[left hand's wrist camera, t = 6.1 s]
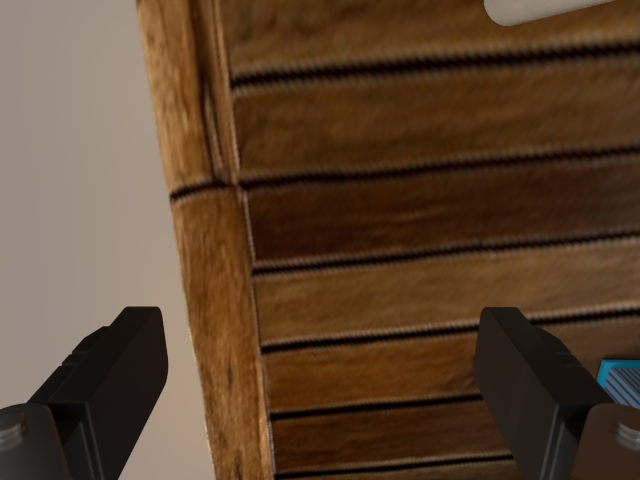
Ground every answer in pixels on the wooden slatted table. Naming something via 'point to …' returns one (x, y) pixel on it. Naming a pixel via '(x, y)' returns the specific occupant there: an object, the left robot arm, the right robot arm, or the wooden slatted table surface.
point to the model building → (621, 381)
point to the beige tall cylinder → (532, 9)
